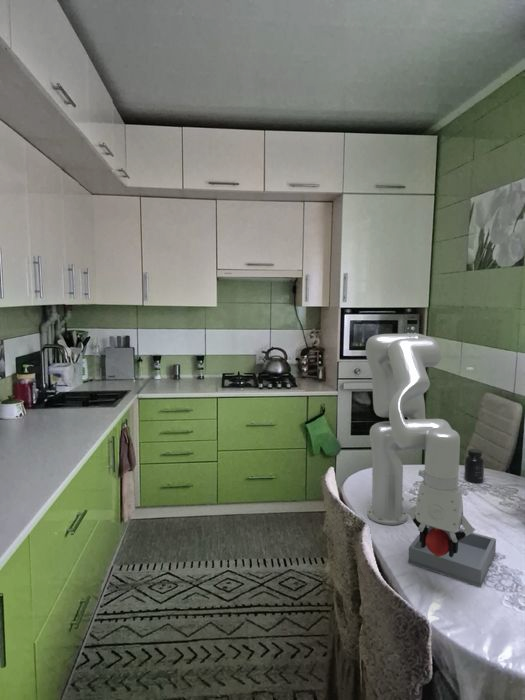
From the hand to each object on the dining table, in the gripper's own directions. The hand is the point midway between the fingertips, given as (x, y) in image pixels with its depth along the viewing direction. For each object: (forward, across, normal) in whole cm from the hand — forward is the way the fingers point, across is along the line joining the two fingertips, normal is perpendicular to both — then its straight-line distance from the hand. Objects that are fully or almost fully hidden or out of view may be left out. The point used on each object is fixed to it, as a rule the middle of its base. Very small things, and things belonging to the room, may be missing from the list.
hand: (438, 549), depth 111 cm
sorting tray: (+11, 0, +15) cm, 18 cm away
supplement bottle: (+12, -8, +75) cm, 77 cm away
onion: (+2, 0, 0) cm, 2 cm away
